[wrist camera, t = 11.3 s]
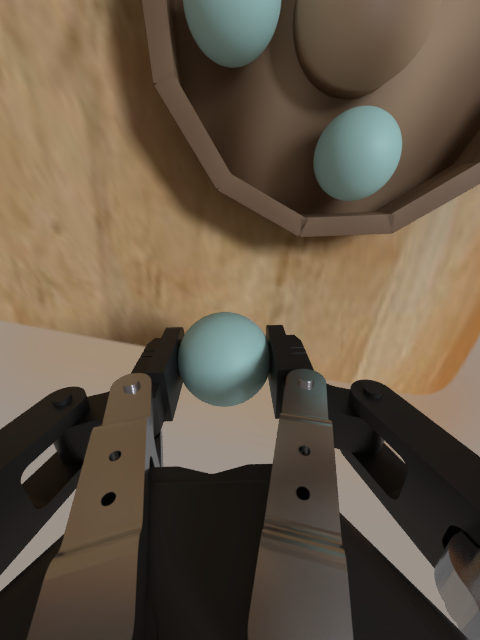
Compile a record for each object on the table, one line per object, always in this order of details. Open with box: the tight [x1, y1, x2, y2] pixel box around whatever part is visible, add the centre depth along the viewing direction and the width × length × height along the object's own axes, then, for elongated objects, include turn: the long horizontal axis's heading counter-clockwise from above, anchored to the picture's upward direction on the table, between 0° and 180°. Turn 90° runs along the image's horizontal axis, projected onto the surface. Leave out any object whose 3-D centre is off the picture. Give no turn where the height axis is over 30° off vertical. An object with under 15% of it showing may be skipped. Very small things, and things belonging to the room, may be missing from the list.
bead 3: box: [313, 106, 402, 201], centre depth 13 cm, size 4×4×4 cm
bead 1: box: [183, 0, 281, 68], centre depth 11 cm, size 4×4×4 cm
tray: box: [142, 0, 480, 237], centre depth 12 cm, size 19×19×3 cm
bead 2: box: [178, 312, 270, 407], centre depth 12 cm, size 4×4×4 cm
